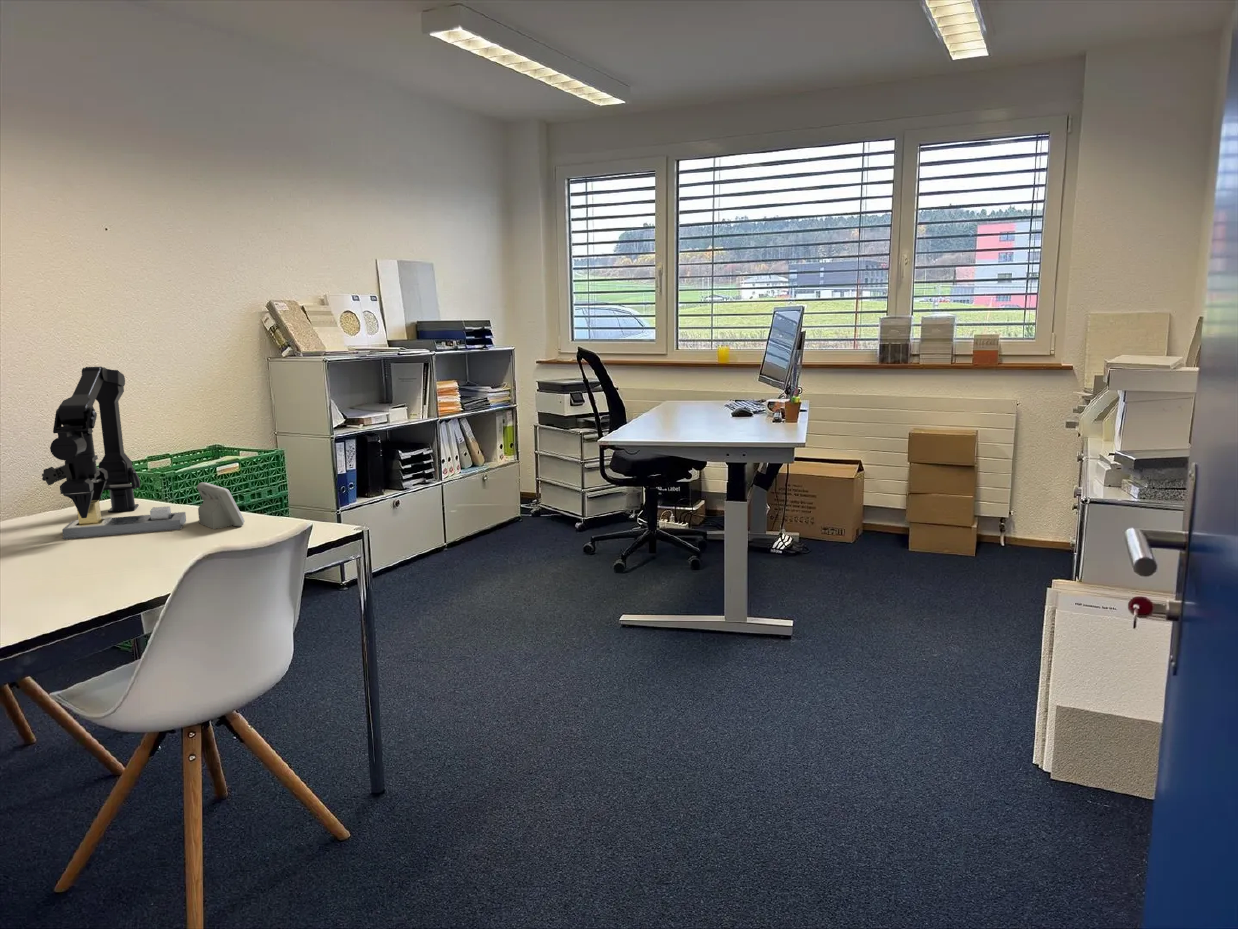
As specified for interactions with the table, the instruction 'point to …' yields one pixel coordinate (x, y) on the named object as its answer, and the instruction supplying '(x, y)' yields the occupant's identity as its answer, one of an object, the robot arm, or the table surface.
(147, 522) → the rail
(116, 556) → the table surface
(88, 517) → the brass peg
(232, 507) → the digital clock
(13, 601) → the table surface
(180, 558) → the table surface
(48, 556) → the table surface
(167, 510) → the steel peg
